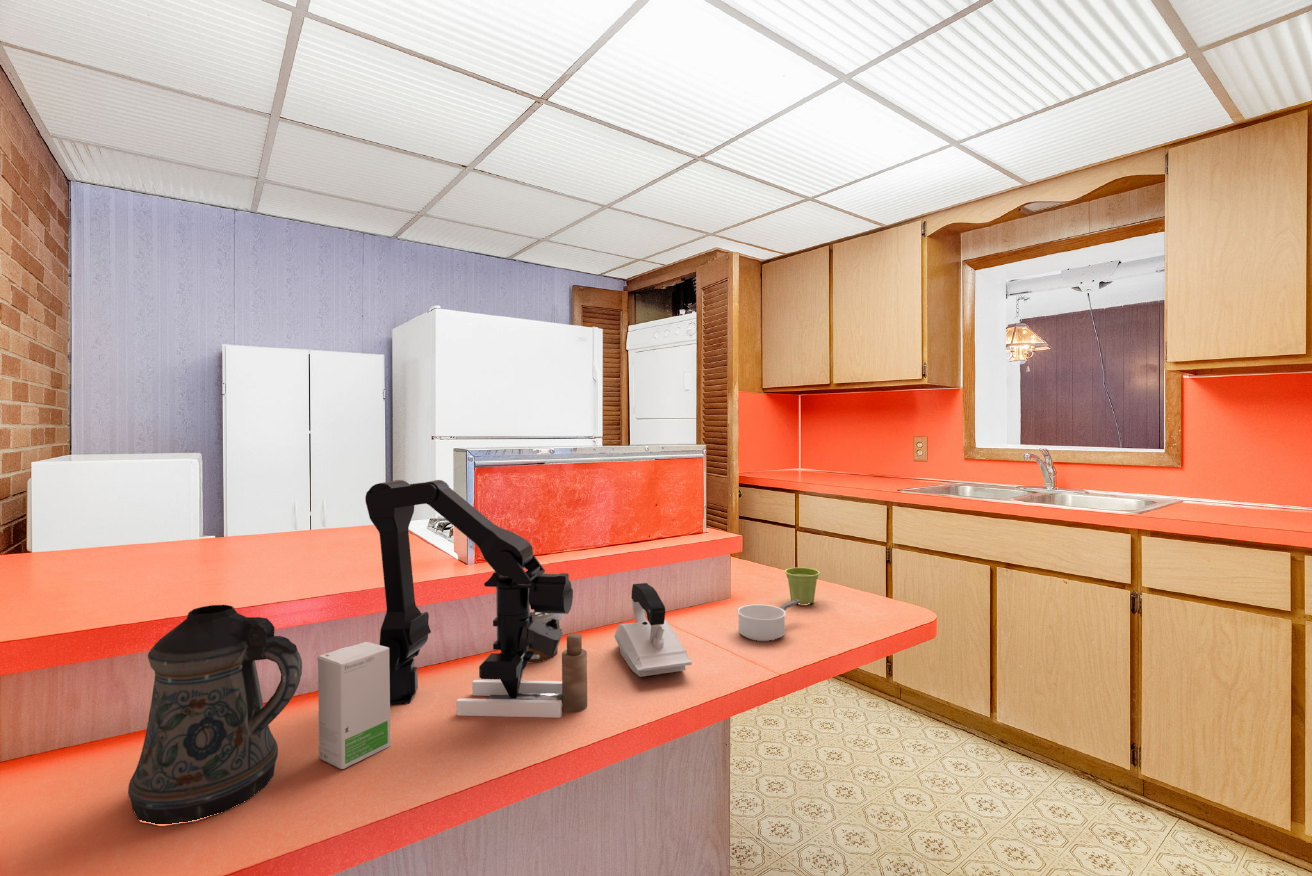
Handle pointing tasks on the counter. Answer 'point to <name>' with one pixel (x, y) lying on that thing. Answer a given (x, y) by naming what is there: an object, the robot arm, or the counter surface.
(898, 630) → the counter surface
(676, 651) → the iron
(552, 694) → the rod
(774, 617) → the saucepan
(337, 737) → the skincare box
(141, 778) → the beer stein
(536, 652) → the food container
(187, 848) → the counter surface
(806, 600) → the plant pot
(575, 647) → the walnut skittle
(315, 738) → the counter surface
